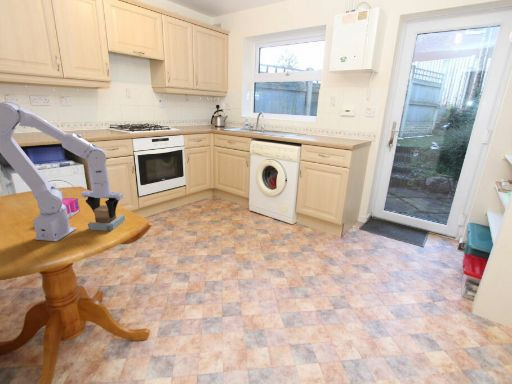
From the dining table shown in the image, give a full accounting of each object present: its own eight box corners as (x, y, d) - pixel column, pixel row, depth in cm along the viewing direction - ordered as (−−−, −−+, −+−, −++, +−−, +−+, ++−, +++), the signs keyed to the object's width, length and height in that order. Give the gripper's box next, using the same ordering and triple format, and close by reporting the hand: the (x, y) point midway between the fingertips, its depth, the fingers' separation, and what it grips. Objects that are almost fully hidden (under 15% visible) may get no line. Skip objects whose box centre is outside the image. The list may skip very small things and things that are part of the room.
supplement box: (80, 211, 115) (63, 223, 104) (66, 210, 115) (47, 222, 104) (78, 198, 113) (60, 209, 102) (63, 197, 113) (43, 208, 102)
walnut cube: (108, 223, 101) (107, 210, 99) (95, 222, 101) (93, 209, 99) (116, 217, 106) (114, 205, 104) (103, 216, 106) (102, 204, 104)
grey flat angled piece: (110, 231, 99) (110, 225, 98) (88, 229, 100) (87, 223, 99) (125, 220, 108) (124, 215, 107) (104, 218, 109) (104, 213, 108)
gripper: (125, 179, 101) (129, 213, 106) (88, 177, 102) (94, 210, 107) (114, 185, 95) (119, 221, 99) (74, 182, 96) (81, 218, 100)
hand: (105, 216), depth 103 cm, fingers closed on walnut cube, 5 cm apart
